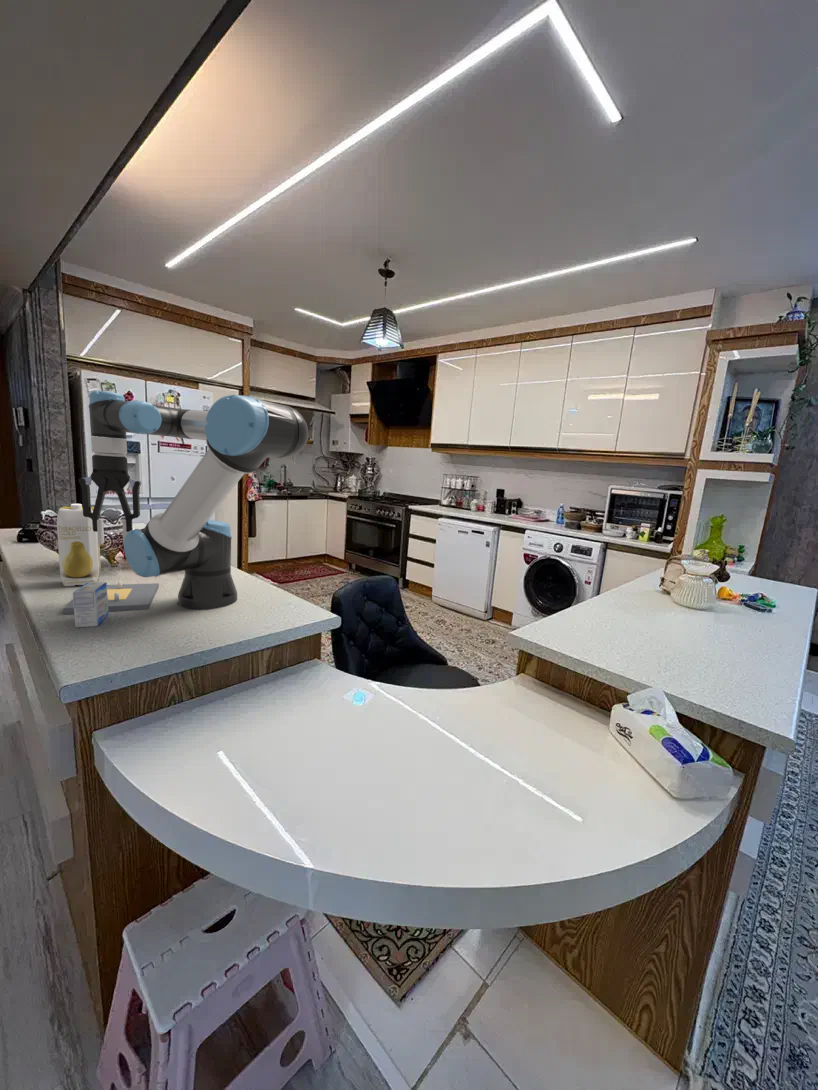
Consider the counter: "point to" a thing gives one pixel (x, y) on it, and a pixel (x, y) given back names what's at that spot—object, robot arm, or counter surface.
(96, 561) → the juice carton
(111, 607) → the board
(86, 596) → the medicine box
